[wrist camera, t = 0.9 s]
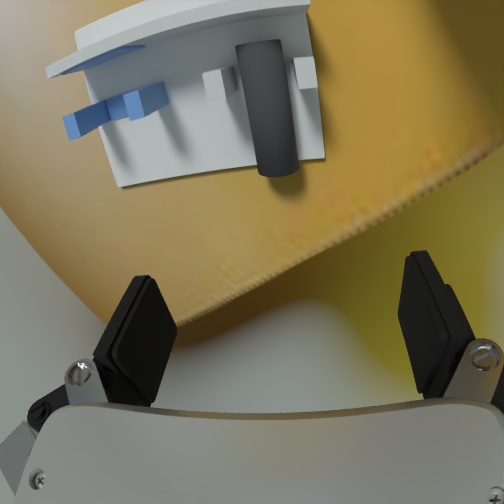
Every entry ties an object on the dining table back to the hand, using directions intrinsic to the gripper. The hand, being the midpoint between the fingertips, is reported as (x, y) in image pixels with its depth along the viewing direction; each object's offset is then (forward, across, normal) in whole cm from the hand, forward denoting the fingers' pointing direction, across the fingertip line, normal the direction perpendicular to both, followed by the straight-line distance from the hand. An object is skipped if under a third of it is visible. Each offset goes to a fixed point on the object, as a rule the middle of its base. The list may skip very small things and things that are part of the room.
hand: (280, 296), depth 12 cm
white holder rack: (+17, +6, -8) cm, 20 cm away
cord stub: (+17, 0, -4) cm, 17 cm away
